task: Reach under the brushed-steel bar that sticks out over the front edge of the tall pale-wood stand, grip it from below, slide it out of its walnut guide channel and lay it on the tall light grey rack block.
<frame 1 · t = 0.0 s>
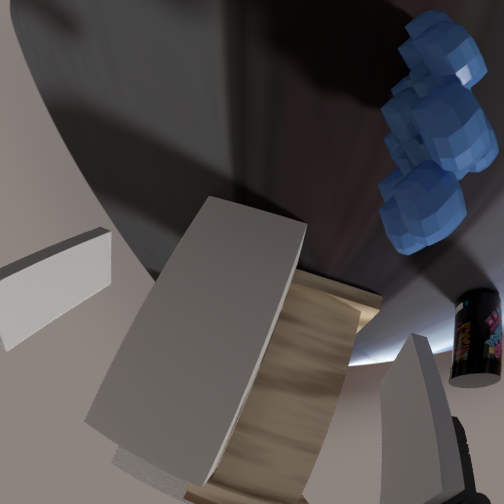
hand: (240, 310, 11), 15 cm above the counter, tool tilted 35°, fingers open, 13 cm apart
stand: (324, 297, 39), on the counter
supplement container: (478, 299, 27), on the counter
rack block: (255, 232, 33), on the counter
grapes: (427, 88, 13), on the counter
steel bar: (208, 487, 25), point 30 cm above the counter, touching stand
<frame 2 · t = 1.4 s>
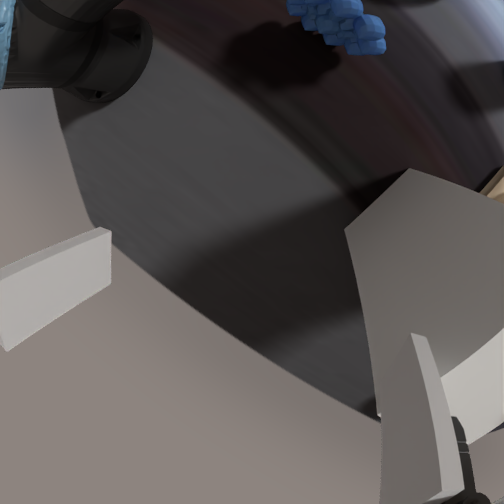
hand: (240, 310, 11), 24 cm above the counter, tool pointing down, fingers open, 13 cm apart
stand: (489, 227, 28), on the counter
rack block: (397, 223, 31), on the counter
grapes: (336, 34, 25), on the counter
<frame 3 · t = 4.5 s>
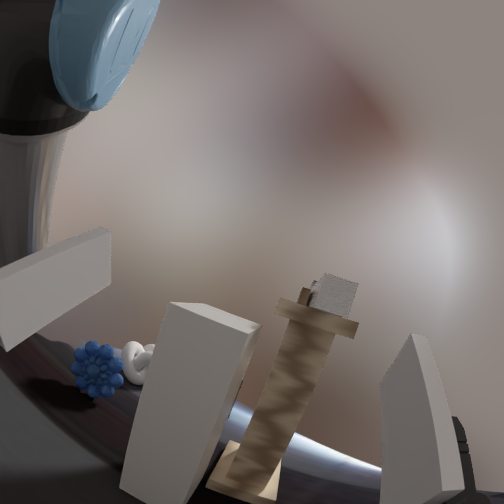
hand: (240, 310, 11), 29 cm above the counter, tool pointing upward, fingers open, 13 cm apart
stand: (245, 475, 35), on the counter
white twisted tube knot: (141, 381, 60), on the counter
rack block: (163, 484, 27), on the counter
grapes: (93, 396, 42), on the counter
steel bar: (318, 310, 34), point 30 cm above the counter, touching stand
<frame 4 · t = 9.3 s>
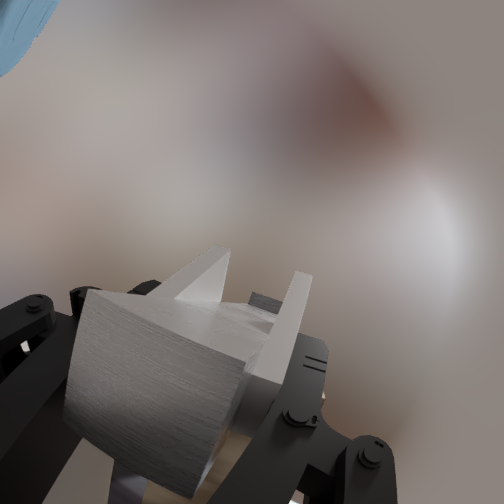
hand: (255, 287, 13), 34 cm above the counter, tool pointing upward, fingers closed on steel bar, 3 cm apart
steel bar: (238, 360, 15), point 30 cm above the counter, touching gripper, stand
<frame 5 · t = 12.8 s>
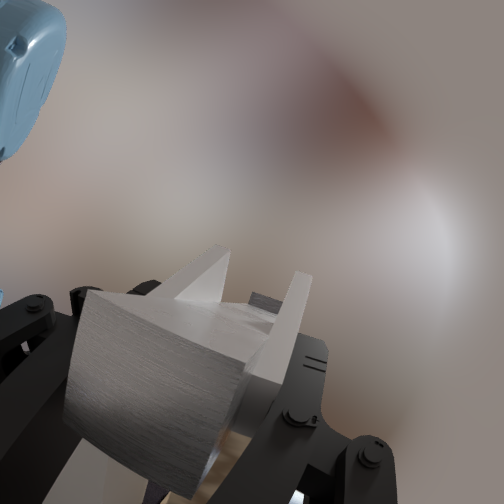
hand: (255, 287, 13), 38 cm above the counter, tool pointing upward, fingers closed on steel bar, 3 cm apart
steel bar: (238, 360, 15), point 34 cm above the counter, touching gripper
when the fingers open (32 cm above the counter, at t = 16.7 s): steel bar drops 2 cm, resting on rack block.
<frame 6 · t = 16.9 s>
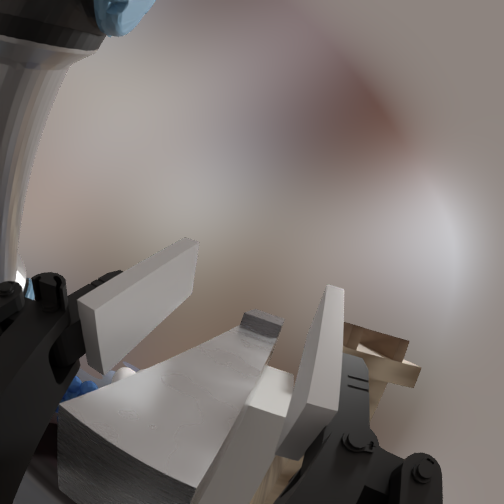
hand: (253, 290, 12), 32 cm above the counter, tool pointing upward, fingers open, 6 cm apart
white twisted tube knot: (136, 411, 49), on the counter
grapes: (79, 436, 31), on the counter
steel bar: (227, 390, 15), point 26 cm above the counter, touching rack block
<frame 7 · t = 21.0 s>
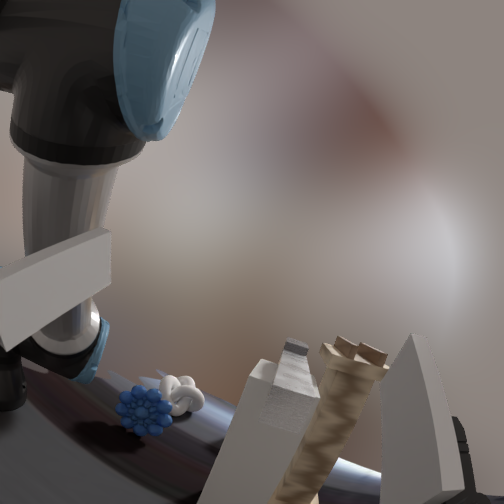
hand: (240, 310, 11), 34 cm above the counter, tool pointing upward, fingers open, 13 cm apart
stand: (288, 495, 37), on the counter
white twisted tube knot: (177, 411, 62), on the counter
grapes: (139, 433, 44), on the counter
steel bar: (285, 385, 28), point 26 cm above the counter, touching rack block
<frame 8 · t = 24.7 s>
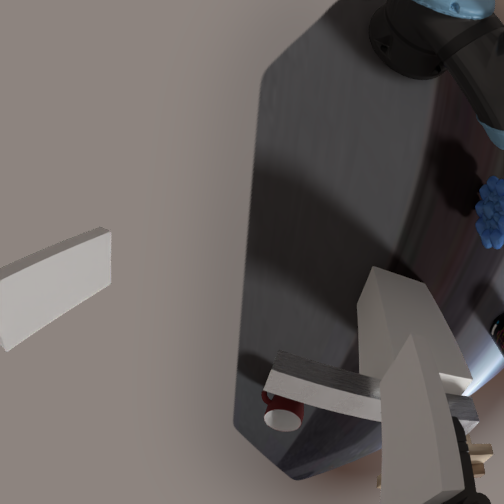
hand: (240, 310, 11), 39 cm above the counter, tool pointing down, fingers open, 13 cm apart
stand: (413, 349, 49), on the counter
supplement container: (500, 324, 41), on the counter
rack block: (391, 294, 47), on the counter
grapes: (482, 207, 37), on the counter
steel bar: (383, 391, 24), point 26 cm above the counter, touching rack block
mug: (287, 386, 61), on the counter
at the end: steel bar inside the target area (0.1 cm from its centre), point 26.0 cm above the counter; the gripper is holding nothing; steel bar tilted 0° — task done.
